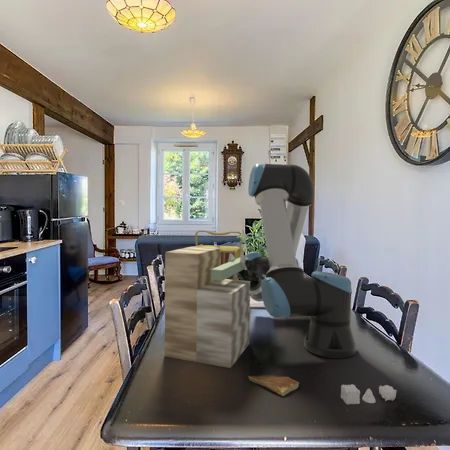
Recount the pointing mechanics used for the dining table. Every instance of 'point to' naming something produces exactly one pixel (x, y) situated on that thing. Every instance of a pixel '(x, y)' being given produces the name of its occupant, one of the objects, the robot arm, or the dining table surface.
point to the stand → (204, 309)
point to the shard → (276, 383)
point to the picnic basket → (224, 248)
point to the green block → (226, 270)
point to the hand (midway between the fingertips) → (235, 257)
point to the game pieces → (352, 394)
